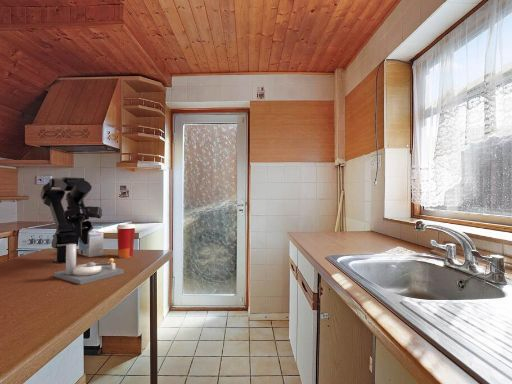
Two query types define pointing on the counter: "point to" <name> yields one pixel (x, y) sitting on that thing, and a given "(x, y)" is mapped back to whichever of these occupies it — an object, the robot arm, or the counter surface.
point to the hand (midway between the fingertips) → (83, 240)
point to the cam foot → (83, 268)
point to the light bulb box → (92, 244)
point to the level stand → (105, 273)
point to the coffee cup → (125, 240)
